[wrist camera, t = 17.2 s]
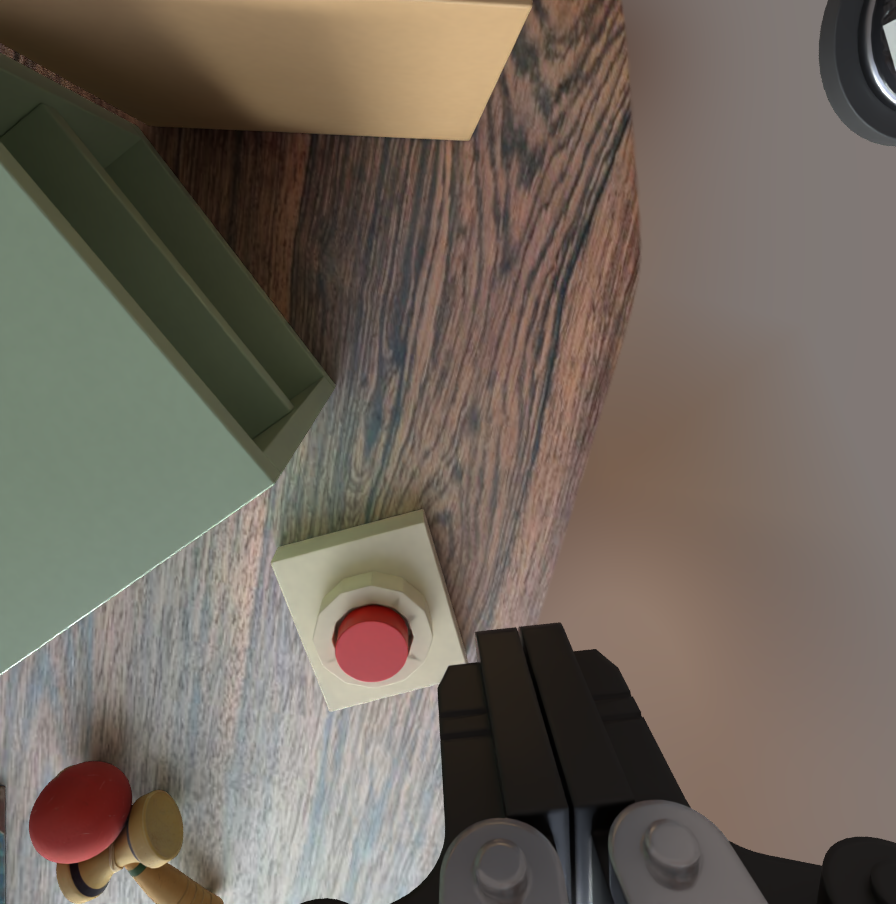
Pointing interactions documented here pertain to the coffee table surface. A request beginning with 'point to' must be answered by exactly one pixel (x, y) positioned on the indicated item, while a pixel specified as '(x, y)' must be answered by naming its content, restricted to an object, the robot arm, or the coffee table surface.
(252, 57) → the cupboard door
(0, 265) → the cupboard
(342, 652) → the button
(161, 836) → the kendama
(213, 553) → the coffee table surface
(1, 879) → the book
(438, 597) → the switch block
